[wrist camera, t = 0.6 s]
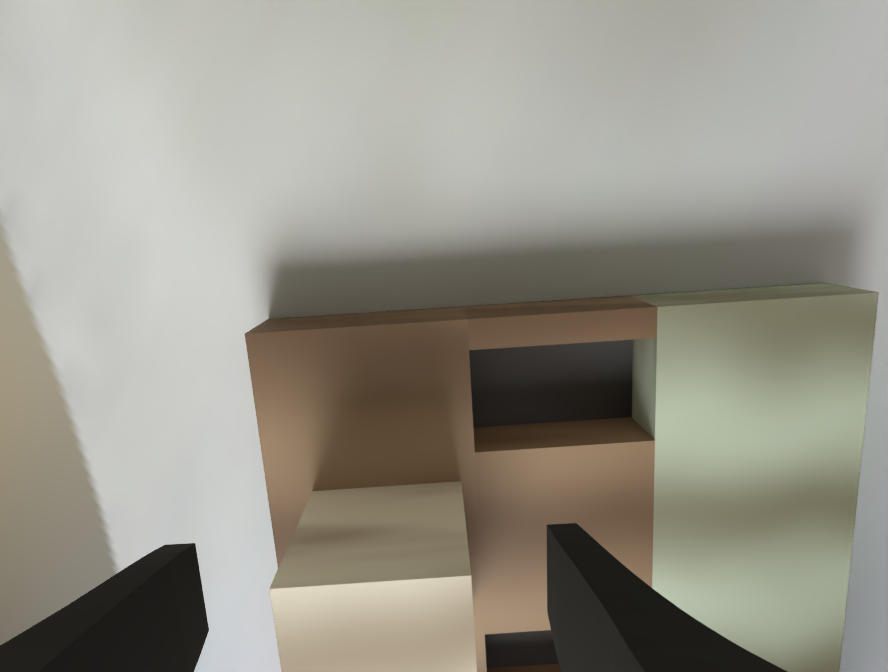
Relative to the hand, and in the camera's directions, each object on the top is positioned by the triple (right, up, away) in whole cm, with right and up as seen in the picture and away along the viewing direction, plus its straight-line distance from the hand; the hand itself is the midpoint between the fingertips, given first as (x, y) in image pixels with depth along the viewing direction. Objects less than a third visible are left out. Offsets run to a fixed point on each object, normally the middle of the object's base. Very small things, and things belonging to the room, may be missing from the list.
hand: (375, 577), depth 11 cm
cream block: (0, -3, +8) cm, 8 cm away
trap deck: (+6, -2, +10) cm, 12 cm away
